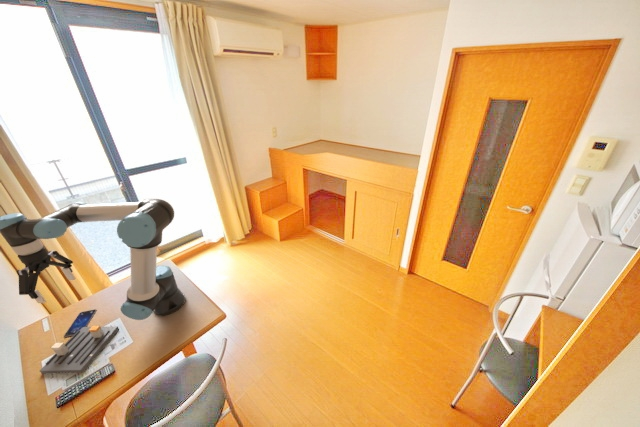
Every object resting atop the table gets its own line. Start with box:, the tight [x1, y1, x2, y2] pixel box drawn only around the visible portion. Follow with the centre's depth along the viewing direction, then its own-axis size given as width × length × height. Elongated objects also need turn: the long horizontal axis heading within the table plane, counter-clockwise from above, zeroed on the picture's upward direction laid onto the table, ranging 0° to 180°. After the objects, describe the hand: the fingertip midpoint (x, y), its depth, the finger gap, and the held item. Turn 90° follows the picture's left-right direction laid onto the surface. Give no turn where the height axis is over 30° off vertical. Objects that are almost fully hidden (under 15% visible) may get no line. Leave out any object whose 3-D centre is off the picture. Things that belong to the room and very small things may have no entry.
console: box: [39, 326, 119, 375], centre depth 104 cm, size 16×20×3 cm
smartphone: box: [63, 308, 97, 338], centre depth 117 cm, size 7×1×15 cm
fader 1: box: [50, 342, 69, 356], centre depth 100 cm, size 3×2×5 cm
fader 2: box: [89, 325, 104, 338], centre depth 107 cm, size 3×2×5 cm
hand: (58, 290), depth 104 cm, fingers open, 13 cm apart
